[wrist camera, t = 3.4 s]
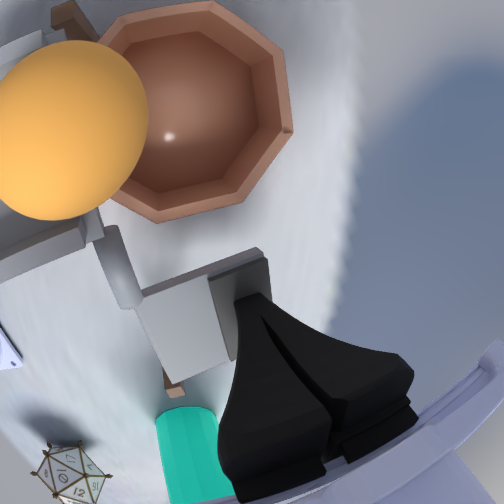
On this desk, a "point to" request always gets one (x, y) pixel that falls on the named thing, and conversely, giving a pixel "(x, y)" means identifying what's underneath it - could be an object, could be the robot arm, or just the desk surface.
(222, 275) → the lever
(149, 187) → the bowl
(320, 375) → the robot arm
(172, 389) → the lever stand
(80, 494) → the game die
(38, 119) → the ball
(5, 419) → the desk surface
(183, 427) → the candle
